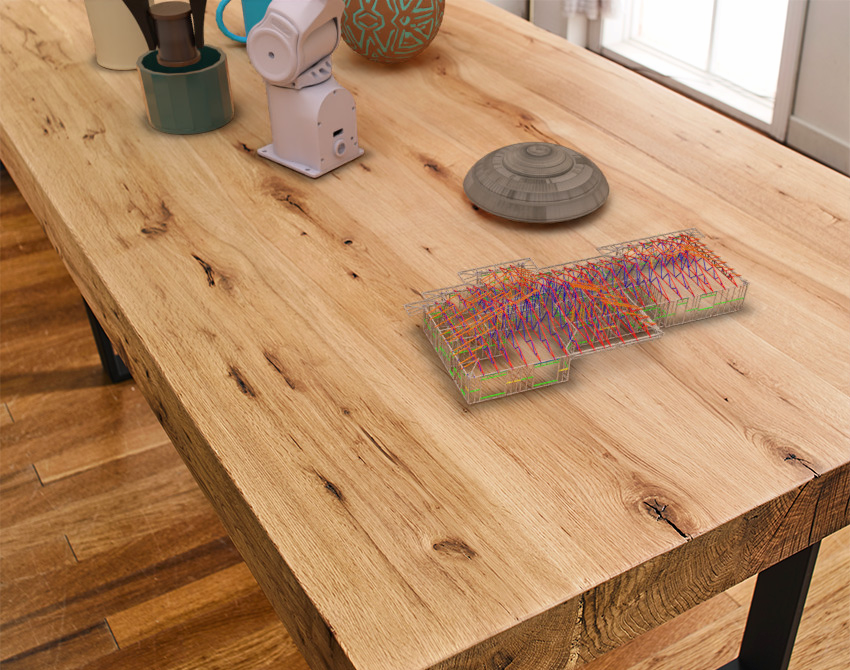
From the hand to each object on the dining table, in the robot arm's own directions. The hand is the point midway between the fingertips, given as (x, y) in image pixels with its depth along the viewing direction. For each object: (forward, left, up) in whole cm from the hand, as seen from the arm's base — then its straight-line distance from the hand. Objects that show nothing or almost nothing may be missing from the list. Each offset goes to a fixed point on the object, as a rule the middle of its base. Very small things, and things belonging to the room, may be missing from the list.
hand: (176, 46), depth 103 cm
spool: (0, 0, -1) cm, 1 cm away
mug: (+15, -25, -10) cm, 30 cm away
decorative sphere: (-3, -32, -10) cm, 33 cm away
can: (+25, -10, -10) cm, 29 cm away
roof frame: (-57, +2, -10) cm, 58 cm away
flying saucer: (-41, -13, -10) cm, 44 cm away
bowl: (+3, -3, -10) cm, 11 cm away
